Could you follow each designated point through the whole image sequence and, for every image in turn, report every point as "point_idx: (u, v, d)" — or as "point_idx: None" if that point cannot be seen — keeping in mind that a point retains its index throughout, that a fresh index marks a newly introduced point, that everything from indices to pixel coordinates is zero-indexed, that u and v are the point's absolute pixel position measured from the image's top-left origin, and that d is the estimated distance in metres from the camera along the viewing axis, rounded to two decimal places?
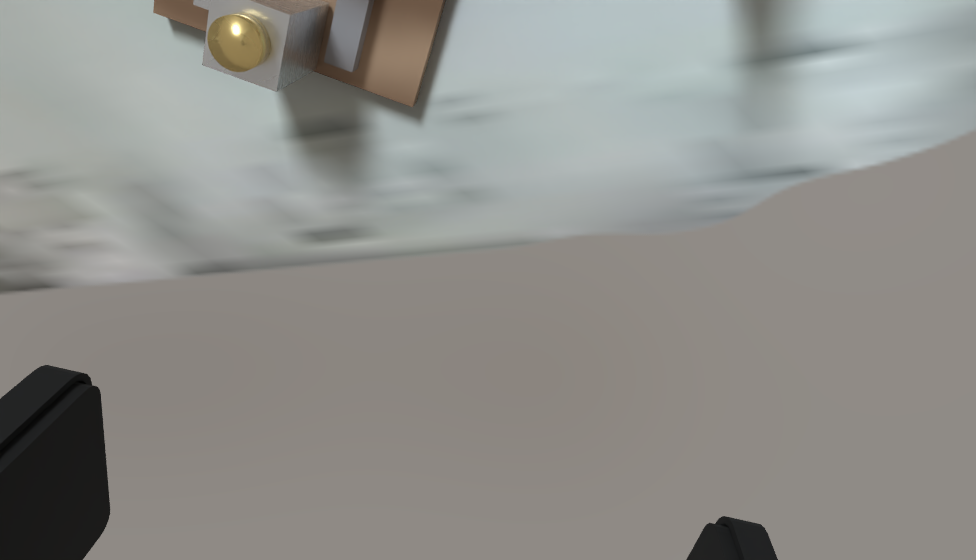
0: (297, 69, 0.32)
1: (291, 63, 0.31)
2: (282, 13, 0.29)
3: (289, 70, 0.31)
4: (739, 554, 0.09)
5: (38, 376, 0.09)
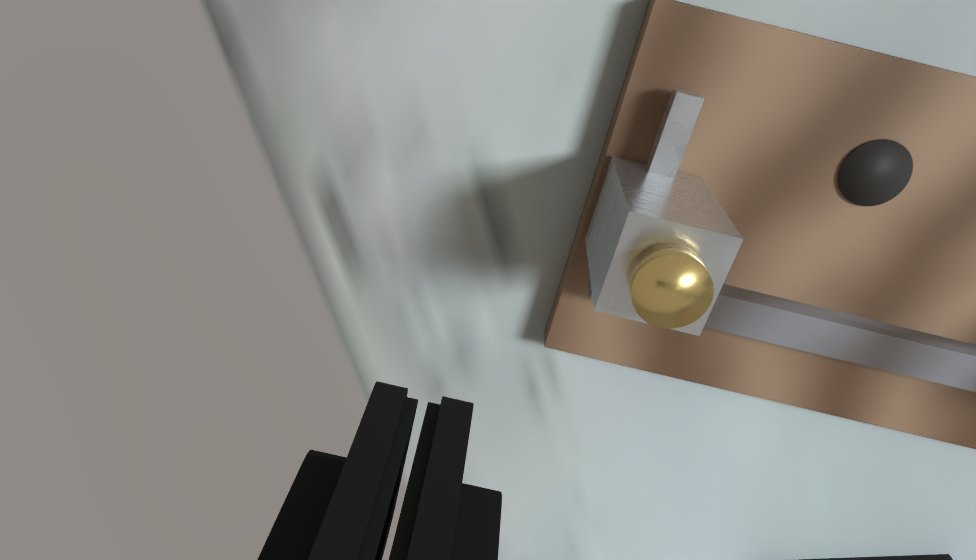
0: None
1: None
2: (702, 326, 0.21)
3: None
4: (437, 423, 0.10)
5: (379, 391, 0.10)
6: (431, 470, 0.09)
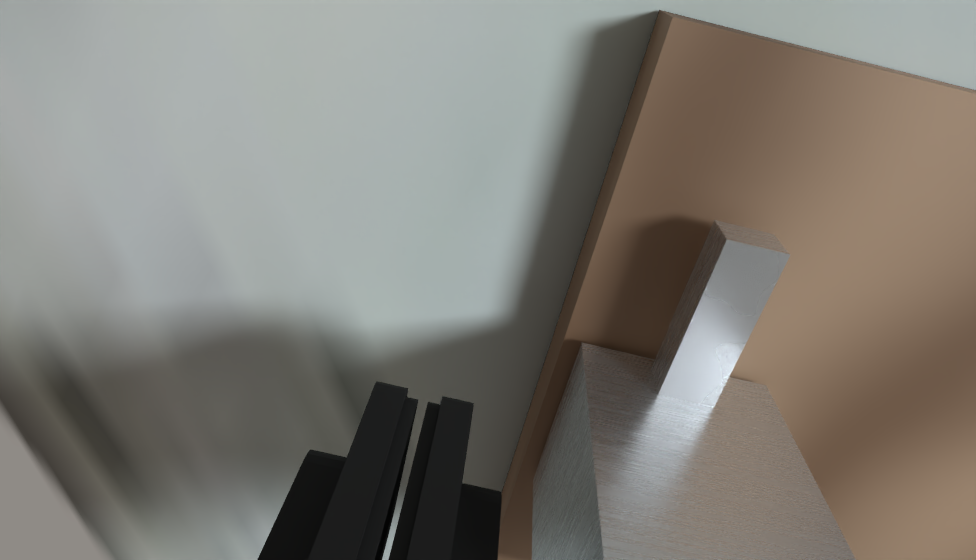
0: None
1: None
2: None
3: None
4: (436, 423, 0.10)
5: (379, 391, 0.10)
6: (431, 470, 0.09)
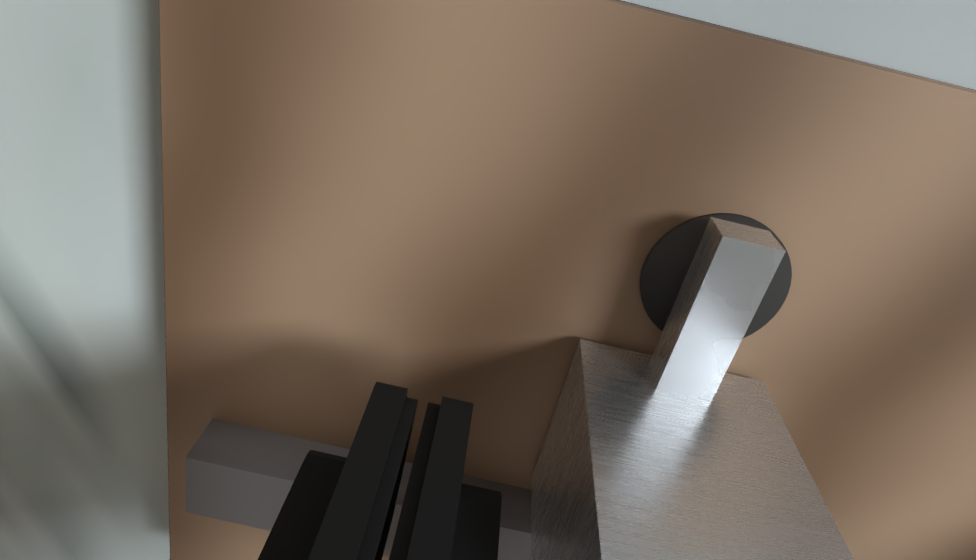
0: None
1: None
2: None
3: None
4: (436, 423, 0.10)
5: (379, 391, 0.10)
6: (431, 470, 0.09)
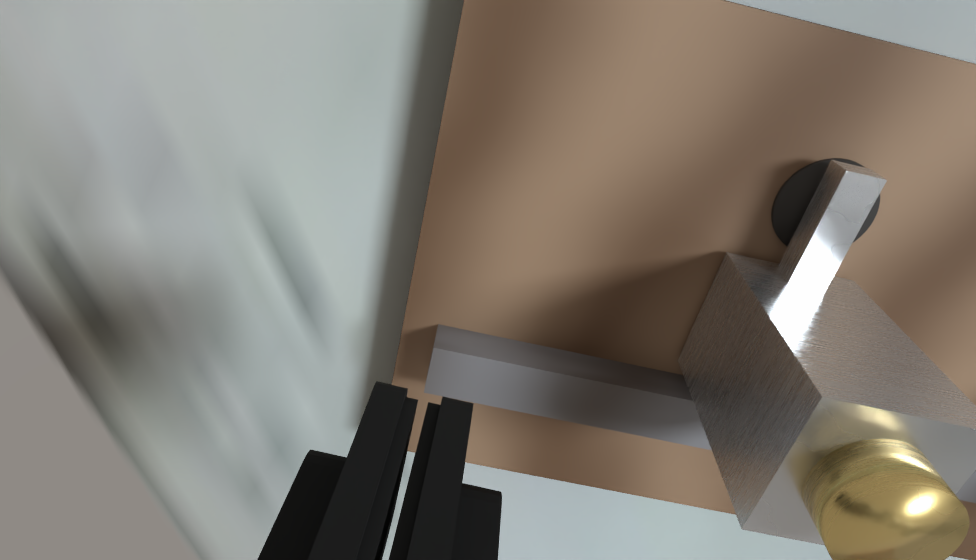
0: None
1: None
2: None
3: None
4: (437, 423, 0.10)
5: (379, 391, 0.10)
6: (431, 470, 0.09)
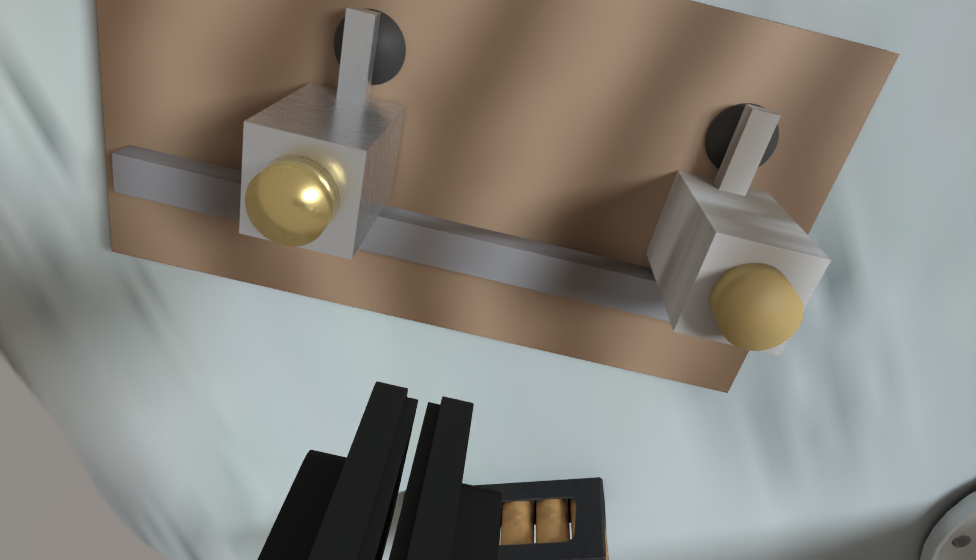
0: None
1: None
2: (352, 249, 0.20)
3: None
4: (437, 423, 0.10)
5: (379, 391, 0.10)
6: (431, 470, 0.09)
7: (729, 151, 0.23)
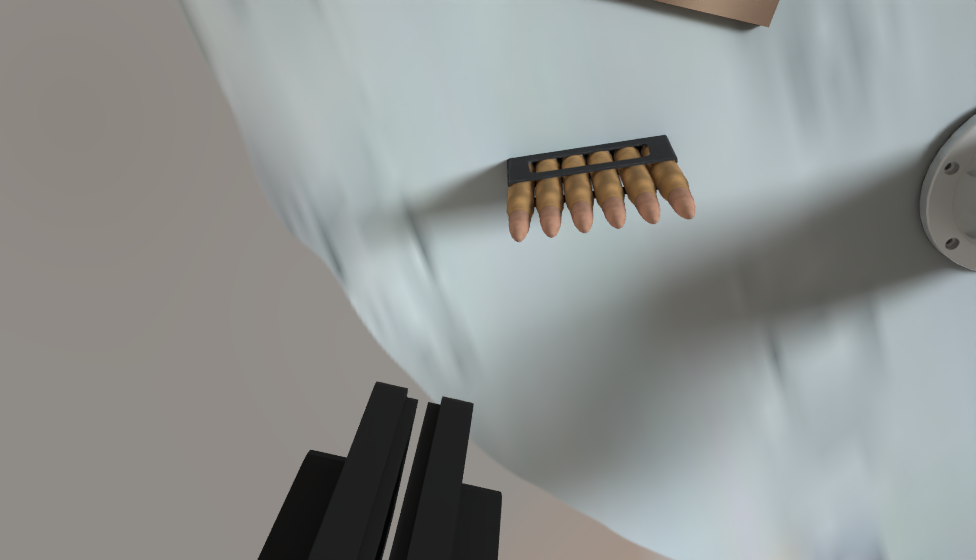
0: None
1: None
2: None
3: None
4: (436, 423, 0.10)
5: (379, 391, 0.10)
6: (431, 470, 0.09)
7: None
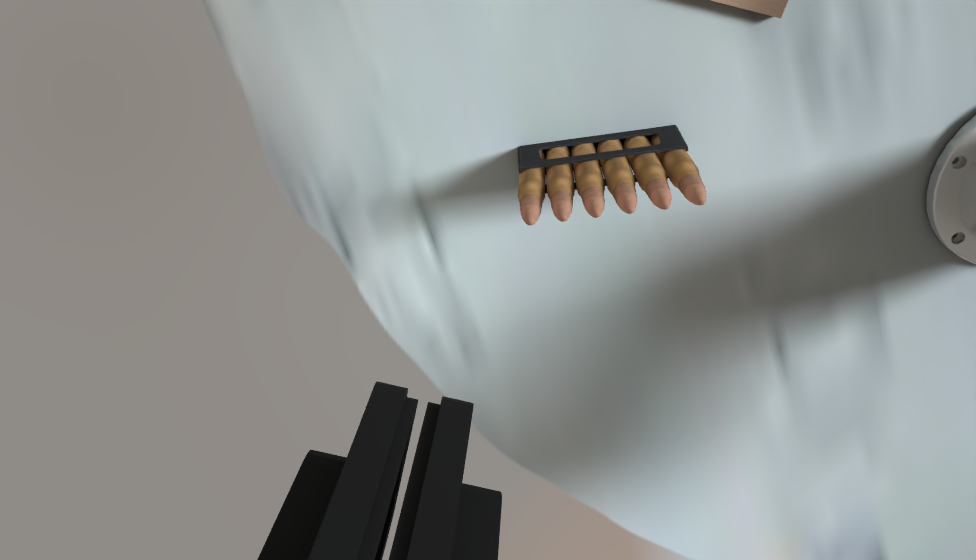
0: None
1: None
2: None
3: None
4: (437, 423, 0.10)
5: (379, 391, 0.10)
6: (431, 470, 0.09)
7: None
